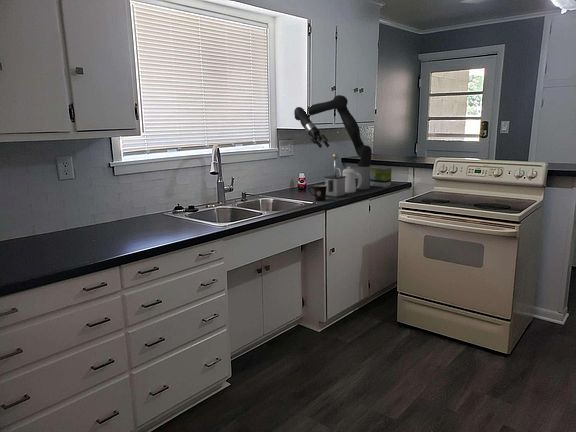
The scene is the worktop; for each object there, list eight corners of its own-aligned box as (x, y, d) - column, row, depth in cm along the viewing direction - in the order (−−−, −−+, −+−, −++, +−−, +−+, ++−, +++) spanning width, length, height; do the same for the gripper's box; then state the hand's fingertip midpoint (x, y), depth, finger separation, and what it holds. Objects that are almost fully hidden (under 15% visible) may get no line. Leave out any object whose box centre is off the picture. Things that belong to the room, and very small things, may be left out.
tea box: (368, 185, 354) (368, 167, 351) (374, 184, 361) (375, 166, 358) (385, 187, 344) (385, 168, 341) (391, 185, 352) (392, 167, 348)
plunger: (333, 181, 312) (333, 153, 308) (342, 181, 307) (342, 153, 303) (327, 182, 306) (327, 154, 302) (336, 183, 301) (336, 154, 297)
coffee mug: (329, 200, 294) (329, 185, 292) (320, 202, 288) (320, 187, 286) (316, 198, 302) (316, 183, 300) (307, 200, 296) (307, 185, 294)
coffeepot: (340, 189, 339) (340, 165, 335) (365, 192, 320) (366, 167, 316) (330, 190, 332) (330, 166, 328) (356, 194, 313) (356, 168, 309)
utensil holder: (333, 194, 316) (333, 175, 313) (345, 195, 309) (345, 176, 306) (323, 196, 307) (323, 176, 304) (335, 198, 300) (335, 178, 297)
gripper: (308, 126, 305) (321, 143, 300) (321, 126, 315) (333, 142, 310) (302, 134, 309) (315, 151, 304) (315, 133, 320) (327, 149, 315)
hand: (324, 146), depth 307 cm, fingers open, 8 cm apart
